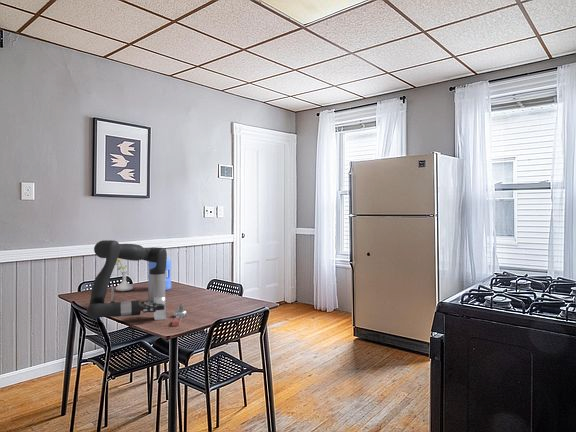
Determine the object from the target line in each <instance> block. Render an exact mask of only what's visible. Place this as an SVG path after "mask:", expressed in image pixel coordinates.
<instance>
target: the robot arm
mask: <svg viewBox="0 0 576 432" xmlns="http://www.w3.org/2000/svg"><path fill="white" fill-rule="evenodd" d="M93 252H94V254H95V255H96V256H97V257H98V258H100V259H105V263H104V265H103V267H102V268H101V270H100V271H99V272H98V274H97V275H96V276H95V279H94V281H93V282H92V287H91V292H90V300H89V304H88V307H87V308H86V315H87V317H89V319H95V320H96V319H99V318H107V317H108V318H109V317H111V318H113V317H114V318H115V317H117V318H118V317H130V316H131V317H132V316H140V315H141V312H142V313H145V314H146V313H154V312H156V311H157V310H164V305H160V306H154V297H157V296H165V297H166V290H165V277H166V271H167V270H166V261H167V258H168V257H167V250H166V248H164V247H160V246H159V247H158V246H157V247H156V246H155V247H143V246H142V245H141V244H135V243H119V241H117V240H115V239H114V240H112V239H111V240H109V239H108V240H107V239H106V240H104V239H103V240H100V241H98V242H97V243H95V245H94V247H93ZM118 258H120V259H122V260H127V261H134V262H137V261H146V262H148V261H149V262H156V267H154V268H152V269H150V272H149V274H150V286H147V295H148V296H147V297H148V298H147V300H148V301H142V302H141V299H140V300H139V299H138V300H137V299H135V300H124V301H117V302H116V301H115V303H111V302H110V303H108V302H106V303H105V299H106V296H107V293H108V292H107V291H108V287H109V283H110V279H111V277H112V274H113V271H114V269H115V267H116V265H115V264H116V261H117V259H118ZM165 270H166V271H165Z"/></svg>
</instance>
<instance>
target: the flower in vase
mask: <svg viewBox="0 0 576 432" xmlns="http://www.w3.org/2000/svg"><path fill="white" fill-rule="evenodd" d="M122 260H123V259H120V258H118V259H117V261H116V264H115V266H118V265H119V264H120V266H118V267H117V269H116V270H117V271H120V273H121V275H122V281H121V282H120V283H119V284H118V285H117V286H116V287H115V291H118V292H127V291H131V290H133V289H134V286H133V285H132V284H130V283H129V282H128V281H127V274H128V272H129V270H128V269H127V268H128V267H127V264H126V265H124V266H122V263H121V262H122ZM121 269H122V270H121ZM126 269H127V270H126Z"/></svg>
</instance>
